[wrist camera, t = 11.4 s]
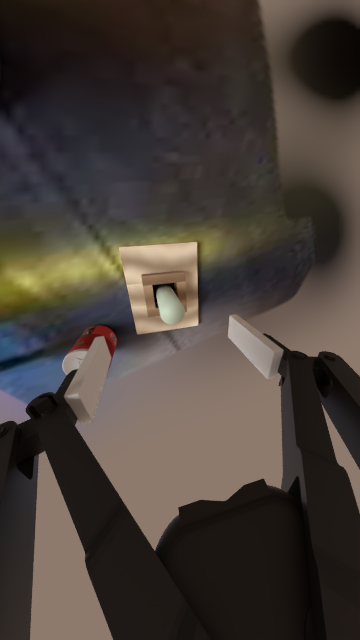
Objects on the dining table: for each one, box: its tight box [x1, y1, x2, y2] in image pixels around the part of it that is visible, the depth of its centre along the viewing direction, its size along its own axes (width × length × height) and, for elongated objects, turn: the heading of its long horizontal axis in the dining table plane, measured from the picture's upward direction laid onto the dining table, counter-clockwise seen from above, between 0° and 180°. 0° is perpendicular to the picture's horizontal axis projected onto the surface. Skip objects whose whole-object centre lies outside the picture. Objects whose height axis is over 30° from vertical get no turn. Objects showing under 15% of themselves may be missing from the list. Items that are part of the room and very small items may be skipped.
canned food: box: [62, 325, 117, 375], centre depth 34 cm, size 8×8×11 cm
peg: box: [155, 283, 185, 325], centre depth 31 cm, size 4×4×14 cm
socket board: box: [119, 242, 198, 335], centre depth 35 cm, size 20×16×4 cm
